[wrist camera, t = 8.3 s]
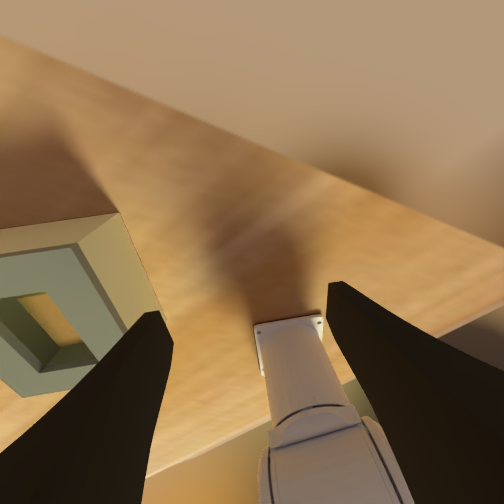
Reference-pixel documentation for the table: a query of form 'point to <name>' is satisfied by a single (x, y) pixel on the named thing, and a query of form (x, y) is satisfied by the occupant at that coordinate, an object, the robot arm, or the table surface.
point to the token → (50, 318)
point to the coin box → (68, 298)
